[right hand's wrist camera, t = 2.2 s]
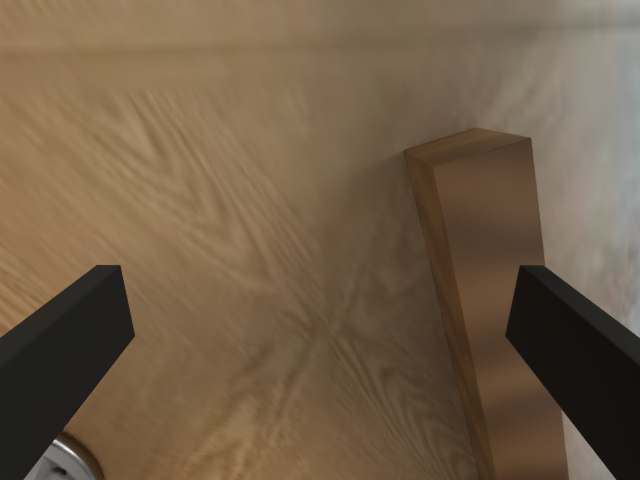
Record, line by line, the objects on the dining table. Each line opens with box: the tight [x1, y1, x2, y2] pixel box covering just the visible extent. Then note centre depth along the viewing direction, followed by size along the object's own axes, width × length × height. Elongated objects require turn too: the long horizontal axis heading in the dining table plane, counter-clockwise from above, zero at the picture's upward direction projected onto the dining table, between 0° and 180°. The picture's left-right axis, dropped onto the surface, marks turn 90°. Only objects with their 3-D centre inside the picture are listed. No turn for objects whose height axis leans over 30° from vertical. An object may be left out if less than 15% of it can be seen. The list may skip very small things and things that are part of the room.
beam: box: [404, 128, 569, 480], centre depth 32 cm, size 53×5×7 cm, turn 17°
